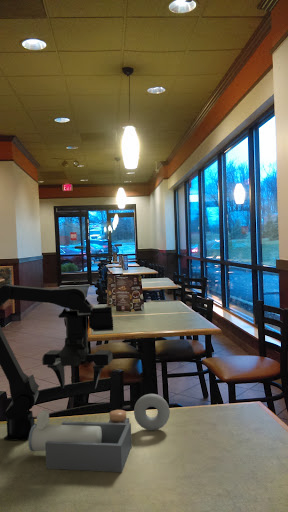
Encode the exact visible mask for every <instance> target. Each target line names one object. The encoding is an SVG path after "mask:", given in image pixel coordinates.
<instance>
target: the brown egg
mask: <svg viewBox="0 0 288 512" xmlns="http://www.w3.org/2000/svg"><path fill="white" fill-rule="evenodd" d="M108 415H109V420H110V421H112V422H115V423H121V422H122V421H125V420H126V418H127V412H126V410H123V409H115V410H111V411H110V412H109V414H108Z"/></svg>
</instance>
